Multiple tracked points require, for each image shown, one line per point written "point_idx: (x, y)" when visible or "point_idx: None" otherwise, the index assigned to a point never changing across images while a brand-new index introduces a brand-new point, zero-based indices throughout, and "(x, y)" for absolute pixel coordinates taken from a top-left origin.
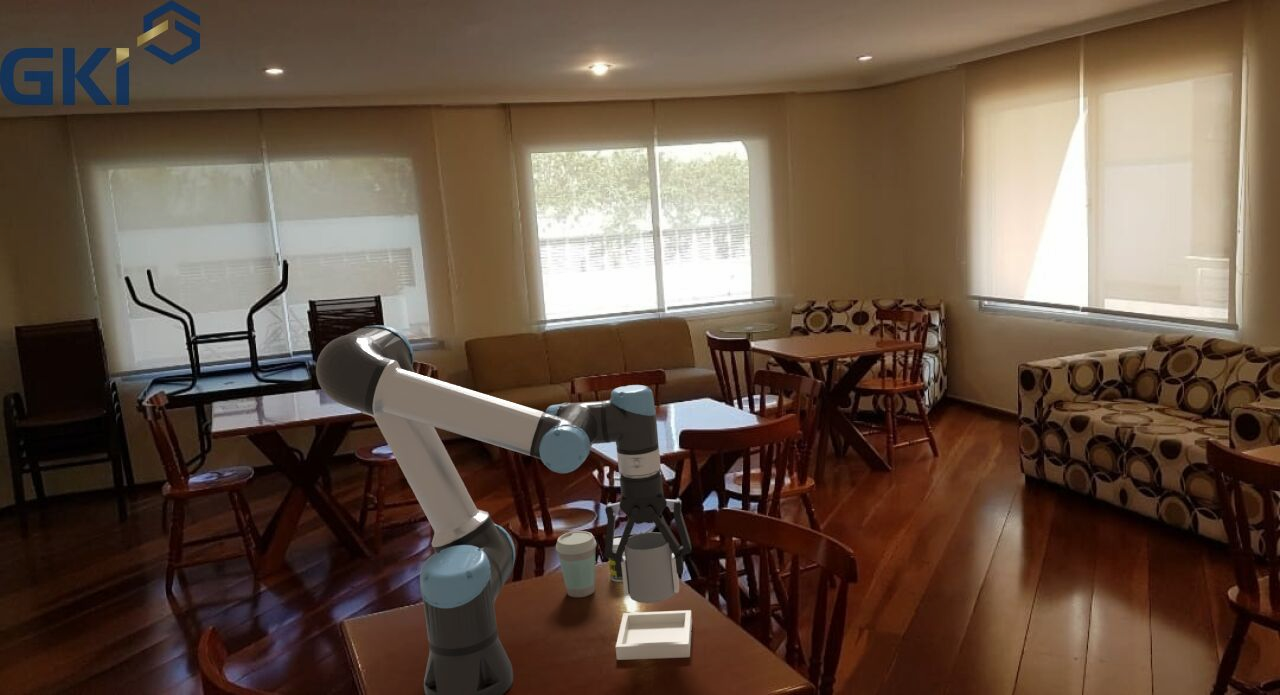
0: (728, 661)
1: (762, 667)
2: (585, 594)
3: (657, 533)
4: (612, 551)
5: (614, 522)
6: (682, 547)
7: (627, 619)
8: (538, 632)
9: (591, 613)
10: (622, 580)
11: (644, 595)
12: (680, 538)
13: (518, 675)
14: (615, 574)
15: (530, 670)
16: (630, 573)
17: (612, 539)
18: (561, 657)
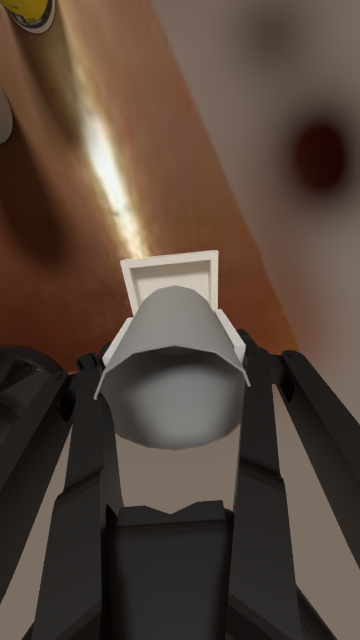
0: (250, 333)
1: (279, 340)
2: (4, 136)
3: (203, 349)
4: (75, 397)
5: (8, 542)
6: (276, 378)
7: (131, 277)
8: (19, 280)
9: (60, 219)
10: (42, 29)
11: (171, 361)
12: (293, 422)
13: (60, 360)
14: (12, 9)
15: (66, 353)
16: (142, 378)
17: (59, 451)
18: (83, 332)
